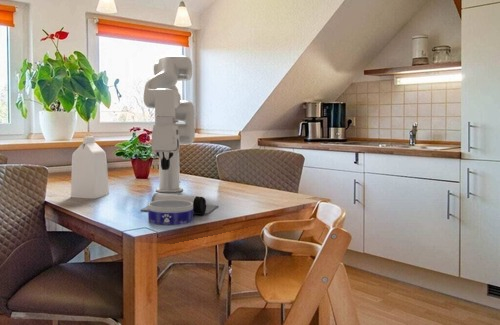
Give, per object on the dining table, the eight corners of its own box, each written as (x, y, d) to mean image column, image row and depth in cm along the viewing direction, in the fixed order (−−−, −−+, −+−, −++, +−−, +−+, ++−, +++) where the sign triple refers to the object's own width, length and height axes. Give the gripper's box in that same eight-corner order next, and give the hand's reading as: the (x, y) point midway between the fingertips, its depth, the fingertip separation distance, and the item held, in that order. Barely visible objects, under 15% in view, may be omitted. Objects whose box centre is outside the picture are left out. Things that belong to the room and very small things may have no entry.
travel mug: (149, 208, 173) (200, 213, 167) (152, 191, 174) (203, 195, 169) (157, 211, 179) (206, 216, 173) (160, 194, 180) (209, 198, 175)
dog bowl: (194, 216, 171) (194, 199, 170) (191, 226, 156) (191, 207, 155) (152, 215, 170) (152, 199, 170) (144, 225, 155) (144, 207, 154)
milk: (95, 198, 202) (94, 137, 200) (71, 197, 204) (69, 136, 202) (109, 193, 214) (108, 136, 211) (85, 192, 216) (84, 135, 214)
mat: (155, 203, 192) (155, 202, 192) (218, 206, 187) (218, 205, 187) (140, 211, 177) (140, 209, 177) (207, 214, 172) (207, 213, 172)
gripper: (187, 121, 182) (187, 169, 184) (150, 121, 185) (150, 167, 187) (180, 122, 175) (180, 171, 177) (142, 121, 177) (143, 170, 179)
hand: (165, 169), depth 182 cm, fingers closed
